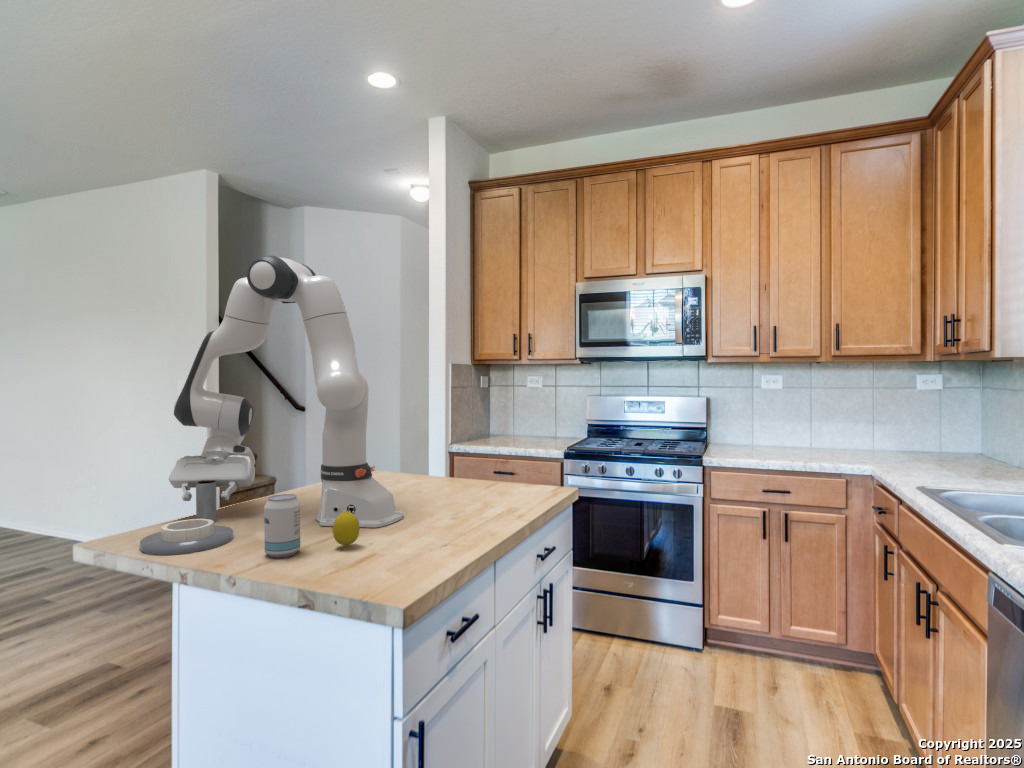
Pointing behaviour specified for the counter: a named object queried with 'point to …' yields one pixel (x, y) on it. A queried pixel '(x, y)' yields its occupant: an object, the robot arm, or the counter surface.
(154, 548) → the collar
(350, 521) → the lemon
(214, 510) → the grey hollow cylinder
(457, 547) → the counter surface
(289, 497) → the beverage can
